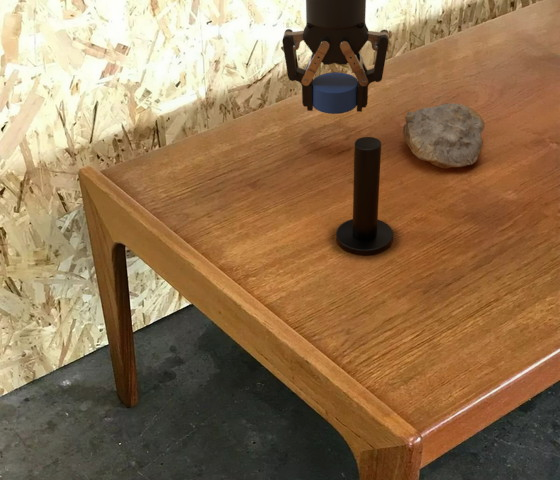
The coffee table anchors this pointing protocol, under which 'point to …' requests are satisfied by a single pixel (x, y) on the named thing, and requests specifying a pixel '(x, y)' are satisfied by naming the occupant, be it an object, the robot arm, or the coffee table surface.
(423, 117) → the fossil
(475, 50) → the coffee table surface
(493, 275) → the coffee table surface
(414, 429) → the coffee table surface
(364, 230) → the post stand
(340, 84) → the disc
